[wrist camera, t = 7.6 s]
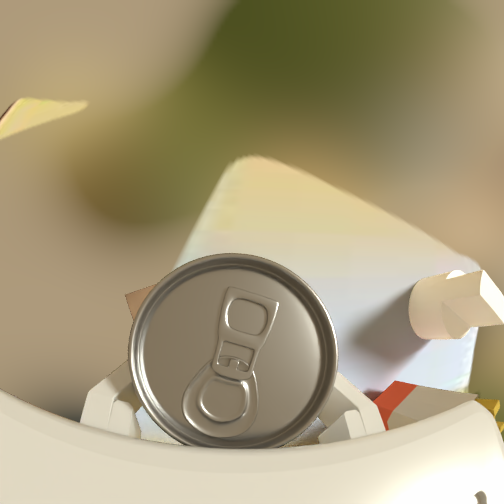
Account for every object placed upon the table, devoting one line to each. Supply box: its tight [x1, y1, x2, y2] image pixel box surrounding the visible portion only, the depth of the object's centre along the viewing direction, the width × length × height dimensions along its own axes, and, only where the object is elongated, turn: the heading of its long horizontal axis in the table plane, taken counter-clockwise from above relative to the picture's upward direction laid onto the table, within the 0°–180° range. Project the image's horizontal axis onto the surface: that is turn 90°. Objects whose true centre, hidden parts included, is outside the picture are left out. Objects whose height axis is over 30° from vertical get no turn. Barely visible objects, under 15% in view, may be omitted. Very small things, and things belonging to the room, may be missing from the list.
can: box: [128, 253, 338, 449], centre depth 12 cm, size 6×6×12 cm
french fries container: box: [373, 381, 504, 433], centre depth 19 cm, size 5×11×18 cm, turn 30°
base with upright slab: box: [409, 270, 504, 339], centre depth 27 cm, size 9×9×12 cm
